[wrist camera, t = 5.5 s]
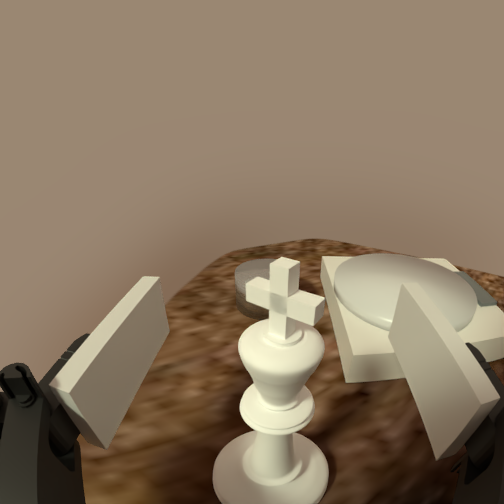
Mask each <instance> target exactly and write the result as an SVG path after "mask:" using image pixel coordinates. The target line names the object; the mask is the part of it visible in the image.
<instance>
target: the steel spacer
mask: <svg viewBox="0 0 504 504" xmlns="http://www.w3.org/2000/svg"><path fill="white" fill-rule="evenodd" d="M275 260H277V259H257V260H251V261H248V262H245V263H243V264H241V265H239V266H238V267H237V268H236V270H235V285H236V305H237V308H238V310H239V311H240V312H241V313H242V314H244V315H245V316H248V317H250V318H253V319H258V320H265V319H269V309H266V308H264V307H261V306H258V305H256V304H253V303H251V302H248V301H246V283H247V282H249V281H251V280H253V279H254V278H256V277H261V278H264V279H267V280H270V263H272V262H274V261H275ZM298 289H299V288H298Z"/></svg>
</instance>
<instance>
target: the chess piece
mask: <svg viewBox="0 0 504 504" xmlns="http://www.w3.org/2000/svg"><path fill="white" fill-rule="evenodd" d="M299 272H300V262H299V261H295V260H292V259H288V258H284V257H281V258H279V259H277V260H275V261H274V262H272V263H270V280H267V279H264V278H261V277H256V278H254V279H253V280H251V281H249V282H247V283H246V301H248V302H251V303H253V304H256V305H258V306H261V307H264V308H266V309H269V319H265V320H262V321H259V322H257V323H255V324H253V325H251V326H250V327H249V328H247V329H246V330H245V331H244V332H243V334H242V335H241V337H240V339H239V344H238V350H239V354H240V357H241V360H242V362H243V364H244V366H245V368H246V370H247V371H248V372H249V373H250V375H251V377H252V379H253V382H254V383H253V384H252V385H251V386H249V387H248V388H247V390H246V391H245V392H244V394H243V397H242V399H241V402H240V413H241V416H242V418H243V420H244V421H245V422H246V423H247V424H248V425H249V426H250V427H251V428H252V429H254V430H255V431H251V432H248V433H245V434H243V435H241V436H239V437H237V438H235V439H234V440H232V441H231V442H229V443H228V444H227V445H226V446H225V447H224V448H223V449H222V450H221V452H220V453H219V455H218V456H217V458H216V461H215V464H214V468H213V487H214V490H215V493H216V495H217V497H218V499H219V500H220V501H221V503H222V504H318V502H319V501H320V500H321V498H322V497H323V495H324V493H325V491H326V488H327V484H328V477H329V469H328V464H327V460H326V458H325V456H324V454H323V453H322V451H321V450H320V448H319V447H318V446H317V445H316V444H315V443H313V442H312V441H311V440H309V439H308V438H306V437H304V436H303V435H300V434H298V433H295V432H297V431H299V430H301V429H302V428H304V427H305V426H306V425H307V424H308V423H309V422H310V420H311V419H312V417H313V415H314V411H315V404H314V400H313V397H312V394H311V392H310V391H309V390H308V388H307V387H306V386H304V385H305V383H306V381H307V379H308V378H309V377H310V375H312V373H313V372H314V371H315V370H316V368H317V366H318V365H319V363H320V361H321V359H322V357H323V354H324V349H325V345H324V341H323V338H322V336H321V335H320V333H319V332H318V331H317V330H316V329H315V328H313V327H312V326H314V325H315V324H316V323H317V322H318V321H319V320H320V319H321V317H322V316H323V312H324V304H325V298H324V297H321V296H318V295H315V294H311V293H308V292H305V291H302V290H299V289H298V288H299ZM311 325H312V326H311Z"/></svg>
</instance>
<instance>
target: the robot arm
mask: <svg viewBox="0 0 504 504" xmlns="http://www.w3.org/2000/svg"><path fill="white" fill-rule="evenodd" d="M168 333H169V326H168V321H167V316H166V311H165V305H164V300H163V294H162V288H161V282H160V277H148V276H143V277H142V278H141V279H140V281H139V282H138V283H137V284H136V285H135V286H134V287H133V288H132V289H131V290H130V291H129V292H128V293H127V294H126V296H124V298H123V299H122V300H121V301H120V302H119V303H118V304H117V305H116V306H115V308H113V310H112V311H111V312H110V313H109V314H108V315H107V316H106V317H105V319H104V320H103V321H102V322H101V323H100V324H99V325H98V326H97V328H96V329H95V330H94V331H93V332H92V333H91V334H85V335H83V336H81V337H80V338H78V339H77V340H75V341H74V342H73V343H72V344H71V346H70V347H69V348H68V349H67V352H64V354H63V355H62V356H61V359H58V361H57V362H56V363H55V364H54V365H53V366H52V368H51V369H50V370H49V371H48V372H47V374H46V375H45V376H44V377H43V379H42V380H41V381H40V382H39V383H37V382H36V380H35V378H34V376H33V375H32V373H31V371H30V369H29V367H28V366H27V365H25V364H23V363H14V364H10V365H8V366H6V367H4V368H3V369H2V370H1V371H0V387H1V388H2V390H3V391H4V392H0V504H86V503H85V496H84V488H83V479H82V467H81V452H80V445H79V442H78V441H77V440H76V439H77V437H78V436H79V434H80V433H81V434H82V436H83V437H84V438H85V440H86V441H87V442H88V443H90V444H93V445H95V446H98V447H100V448H103V449H106V450H107V449H108V447H109V445H110V443H111V441H112V439H113V437H114V435H115V433H116V431H117V429H118V427H119V425H120V423H121V421H122V419H123V417H124V415H125V414H126V412H127V410H128V408H129V406H130V404H131V402H132V400H133V398H134V396H135V394H136V392H137V390H138V389H139V387H140V385H141V383H142V381H143V379H144V377H145V375H146V374H147V372H148V370H149V368H150V366H151V364H152V362H153V361H154V359H155V357H156V355H157V353H158V351H159V350H160V348H161V346H162V344H163V342H164V341H165V339H166V337H167V335H168ZM388 339H389V341H390V343H391V345H392V347H393V349H394V352H395V354H396V356H397V358H398V361H399V363H400V365H401V368H402V370H403V372H404V375H405V377H406V379H407V382H408V384H409V387H410V389H411V392H412V394H413V397H414V399H415V402H416V404H417V407H418V410H419V412H420V415H421V418H422V420H423V423H424V426H425V429H426V431H427V434H428V437H429V440H430V443H431V446H432V449H433V452H434V455H435V458H436V461H437V460H440V459H443V458H446V457H449V456H452V455H455V454H456V453H457V452H458V451H459V450H460V449H461V448H462V446H463V445H464V444H465V446H466V449H467V452H466V453H465V454H464V455H463V456H462V457H461V458H460V459H459V460H458V461H457V462H456V463H455V464H454V465H453V466H452V469H451V471H450V472H454V471H455V470H456V469H457V468H458V467H459V466H460V465H461V467H460V469H459V470H458V471H457V473H459V477H458V481H457V486H456V490H455V494H454V498H453V502H452V504H504V386H503V384H502V383H501V381H500V380H499V378H498V377H497V375H496V374H495V372H494V371H493V370H491V366H490V365H489V363H488V362H486V359H485V358H484V356H483V355H482V353H481V352H480V351H479V350H478V349H477V348H476V347H474V346H473V345H472V344H471V343H469V342H468V343H464V341H463V340H462V339H461V337H460V336H459V335H458V333H457V332H456V330H455V329H454V328H453V326H452V325H451V324H450V323H449V321H448V320H447V319H446V317H445V316H444V315H443V313H442V312H441V311H440V310H439V308H438V307H437V306H436V305H435V303H434V302H433V301H432V300H431V298H430V297H429V296H428V295H427V294H426V292H425V291H424V290H423V289H422V288H421V286H420V285H419V284H418V283H402V284H401V288H400V293H399V297H398V301H397V305H396V309H395V313H394V317H393V321H392V324H391V328H390V331H389V335H388Z"/></svg>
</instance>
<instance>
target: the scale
mask: <svg viewBox="0 0 504 504" xmlns="http://www.w3.org/2000/svg"><path fill="white" fill-rule="evenodd" d="M321 281H322V285H323V289H324V292H325V296H326V300H327V304H328V308H329V312H330V316H331V320H332V324H333V328H334V332H335V336H336V341H337V345H338V349H339V354H340V358H341V363H342V367H343V372H344V377H345V381H346V383H355V382H369V381H380V380H390V379H399V378H406V377H405V375H404V372H403V370H402V368H401V365H400V363H399V361H398V358H397V356H396V354H395V352H394V349H393V347H392V345H391V343H390V341H389V339H388V335H389V331H390V328H391V324H392V321H393V317H394V313H395V309H396V305H397V301H398V297H399V293H400V288H401V284H402V283H418V284H419V285H420V286H421V288H422V289H423V290H424V291H425V292H426V294H427V295H428V296H429V297H430V298H431V300H432V301H433V302H434V303H435V305H436V306H437V307H438V308H439V310H440V311H441V312H442V313H443V315H444V316H445V317H446V319H447V320H448V321H449V323H450V324H451V325H452V326H453V328H454V329H455V330H456V332H457V333H458V335H459V336H460V337H461V339H462V340H463V341H464V343H468V342H469V343H471V344H472V345H473V346H474V347H476V348H477V349H478V350H479V351H480V352H481V353H482V355H483V356H484V358H485V359H486V362H490V361H494V360H498V359H501V358H504V313H503V312H502V311H501V310H500V309H499V308H498V307H497V306H496V304H497V301H496V300H495V299H494V298H493V297H492V296H491V295H489V294H488V293H487V292H486V291H485V290H484V289H483V288H482V287H481V286H480V285H479V284H477V283H476V282H475V281H474V280H473V279H472V278H471V277H470V276H468V275H467V274H466V273H465V272H464V271H459V270H458V269H456V268H455V267H454V266H453V265H452V264H451V263H449V262H448V261H447V260H446V259H439V258H436V259H435V258H416V257H411V256H406V255H399V254H367V255H361V256H357V257H334V256H322V266H321Z"/></svg>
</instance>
